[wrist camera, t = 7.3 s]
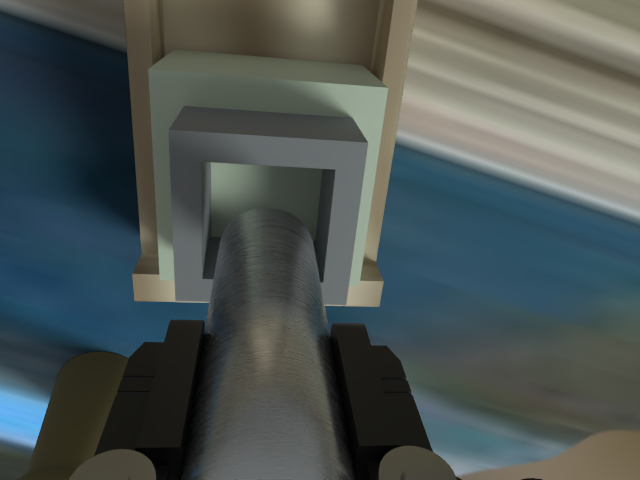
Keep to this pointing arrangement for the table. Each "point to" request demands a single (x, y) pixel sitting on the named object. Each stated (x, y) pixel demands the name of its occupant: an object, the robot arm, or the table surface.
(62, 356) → the table surface
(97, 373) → the cork
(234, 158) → the square socket block
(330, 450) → the peg
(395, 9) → the bay
